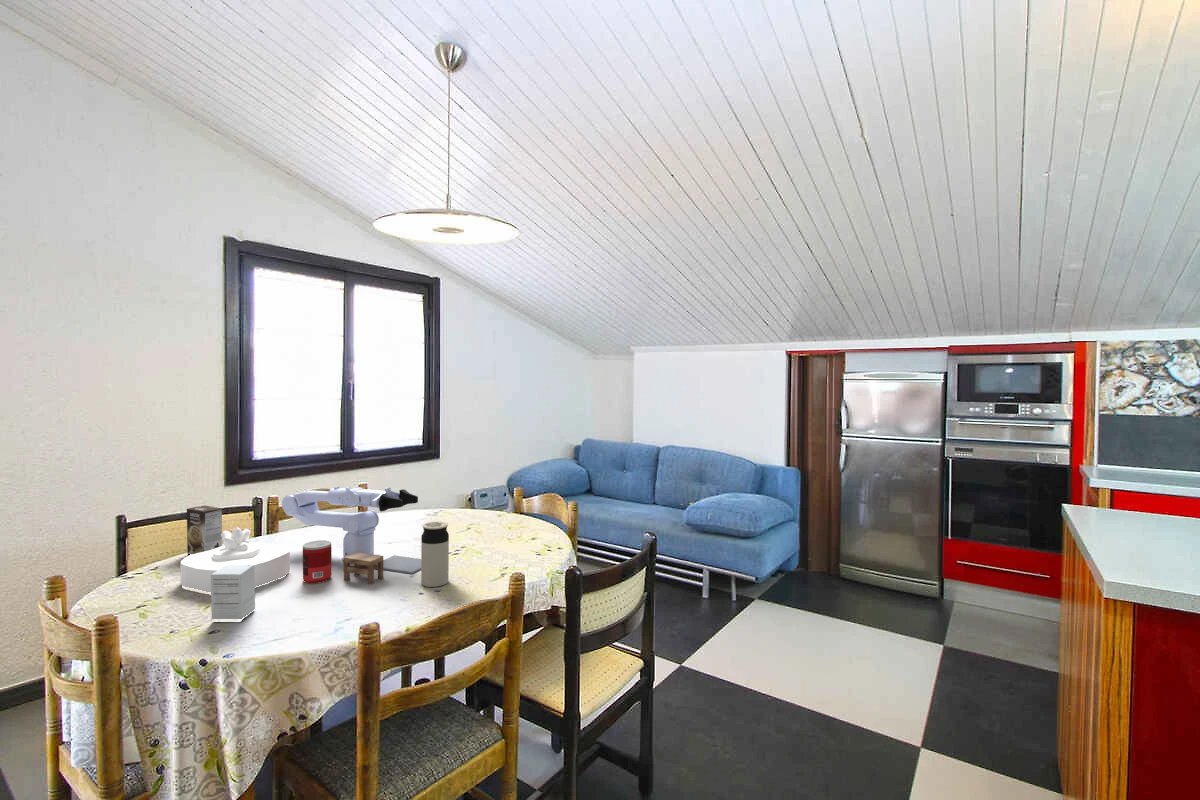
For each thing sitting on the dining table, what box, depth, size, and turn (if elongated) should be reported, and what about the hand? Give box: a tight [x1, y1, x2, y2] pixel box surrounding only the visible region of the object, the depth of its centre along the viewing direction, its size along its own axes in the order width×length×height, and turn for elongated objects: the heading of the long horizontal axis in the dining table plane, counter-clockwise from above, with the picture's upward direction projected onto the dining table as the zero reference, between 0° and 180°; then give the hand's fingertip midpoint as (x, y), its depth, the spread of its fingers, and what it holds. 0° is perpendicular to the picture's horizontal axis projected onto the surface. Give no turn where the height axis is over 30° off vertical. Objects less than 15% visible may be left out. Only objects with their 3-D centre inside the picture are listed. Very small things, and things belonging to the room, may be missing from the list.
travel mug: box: [420, 520, 450, 588], centre depth 176 cm, size 8×8×18 cm
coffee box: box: [186, 504, 223, 555], centre depth 199 cm, size 9×6×16 cm
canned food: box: [302, 539, 332, 584], centre depth 178 cm, size 8×8×11 cm
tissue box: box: [180, 526, 291, 592], centre depth 177 cm, size 25×25×16 cm
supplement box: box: [210, 565, 256, 620], centre depth 150 cm, size 7×7×13 cm
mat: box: [377, 554, 421, 575], centre depth 192 cm, size 16×12×1 cm
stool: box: [343, 552, 384, 585], centre depth 179 cm, size 10×6×7 cm, turn 72°
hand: (409, 501), depth 191 cm, fingers open, 7 cm apart
